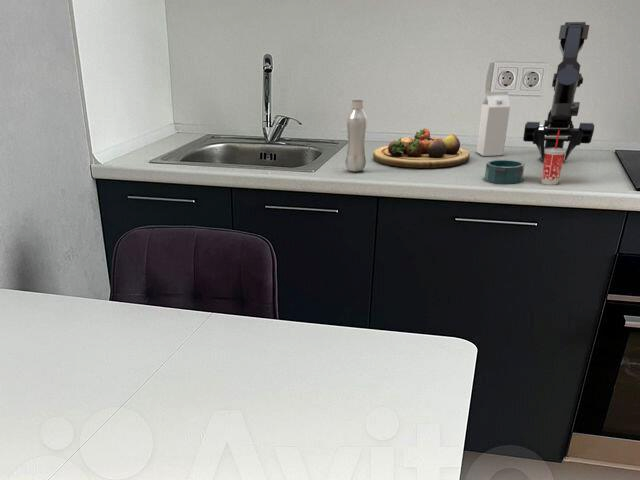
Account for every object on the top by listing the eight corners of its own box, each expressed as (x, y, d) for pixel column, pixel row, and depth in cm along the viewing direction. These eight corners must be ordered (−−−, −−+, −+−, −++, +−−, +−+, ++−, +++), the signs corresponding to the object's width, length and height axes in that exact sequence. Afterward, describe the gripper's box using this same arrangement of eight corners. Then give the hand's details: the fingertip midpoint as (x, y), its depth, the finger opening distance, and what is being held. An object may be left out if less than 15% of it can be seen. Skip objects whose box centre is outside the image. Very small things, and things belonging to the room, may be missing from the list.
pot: (525, 176, 221) (528, 160, 218) (516, 186, 210) (519, 169, 208) (490, 173, 225) (492, 157, 222) (480, 183, 214) (482, 167, 212)
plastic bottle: (367, 169, 233) (370, 99, 222) (362, 173, 228) (365, 102, 217) (348, 168, 235) (350, 99, 224) (342, 172, 230) (344, 102, 219)
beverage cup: (563, 181, 214) (572, 129, 206) (557, 186, 210) (567, 133, 202) (542, 179, 216) (550, 127, 208) (536, 183, 212) (544, 131, 204)
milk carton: (476, 152, 252) (483, 90, 241) (496, 151, 253) (504, 90, 242) (482, 156, 246) (490, 93, 236) (503, 155, 247) (512, 92, 236)
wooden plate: (390, 147, 262) (392, 122, 258) (479, 153, 251) (482, 127, 246) (359, 165, 239) (360, 137, 234) (455, 172, 227) (458, 143, 222)
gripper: (530, 89, 205) (522, 139, 203) (601, 90, 200) (593, 142, 198) (527, 116, 216) (519, 164, 214) (594, 117, 211) (586, 166, 209)
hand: (553, 158), depth 208 cm, fingers closed on beverage cup, 6 cm apart
